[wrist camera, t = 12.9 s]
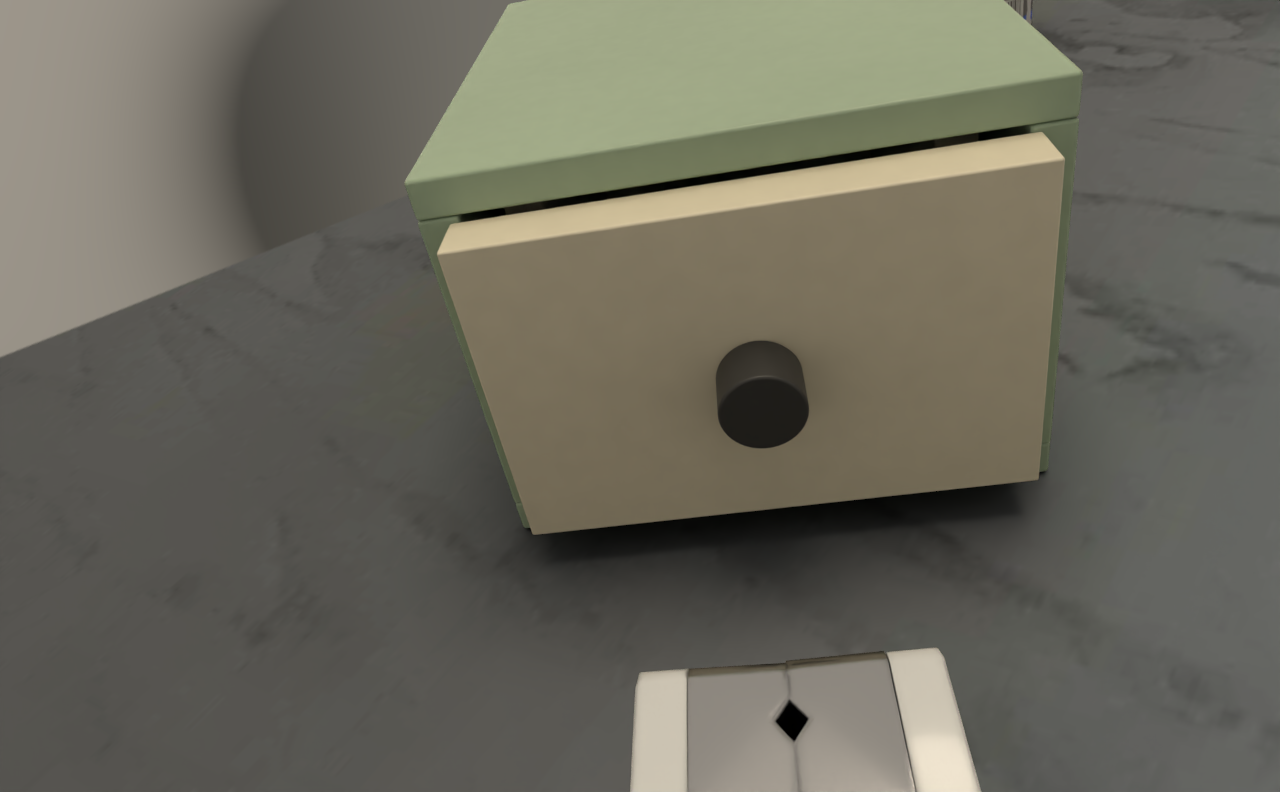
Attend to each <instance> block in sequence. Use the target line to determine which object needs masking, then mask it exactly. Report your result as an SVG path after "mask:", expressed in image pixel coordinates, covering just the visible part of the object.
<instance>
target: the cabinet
mask: <svg viewBox="0 0 1280 792" xmlns="http://www.w3.org/2000/svg"><path fill="white" fill-rule="evenodd" d="M1082 77H1083V73H1082V71H1081V70H1080V69H1079V68H1078V67H1077V66H1076V65H1075V64H1074V63H1073V62H1071V61H1070V60H1069V59H1068V58H1067V57H1066V56H1065V55H1064V54H1063V53H1062V52H1060V51H1059V50H1058V49H1057V48H1056V47H1055V46H1054V45H1053V44H1052V43H1050V42H1049V41H1048V40H1047V39H1046V38H1045V37H1044V36H1043V35H1042V34H1041V33H1039V32H1038V31H1037V30H1036V29H1035V28H1034V27H1033V26H1032V25H1031V24H1029V23H1028V22H1027V21H1026V20H1025V19H1024V18H1023V17H1022V16H1021V15H1019V14H1018V13H1017V12H1016V11H1015V10H1014V9H1013V8H1012V7H1011V6H1010V5H1008V4H1007V3H1006V2H1005V1H1004V0H528V1H522V2H517V3H512V4H509V5H508V6H507V8H506V10H505V11H504V13H503V15H502V17H501V18H500V20H499V22H498V23H497V25H496V27H495V29H494V30H493V32H492V34H491V35H490V37H489V39H488V40H487V42H486V44H485V46H484V47H483V49H482V51H481V52H480V54H479V56H478V58H477V59H476V61H475V63H474V64H473V66H472V68H471V69H470V71H469V73H468V74H467V76H466V78H465V80H464V81H463V83H462V85H461V87H460V89H459V90H458V92H457V94H456V95H455V97H454V99H453V100H452V102H451V104H450V105H449V107H448V109H447V110H446V112H445V114H444V116H443V117H442V119H441V121H440V122H439V124H438V126H437V128H436V130H435V131H434V133H433V134H432V136H431V138H430V139H429V141H428V143H427V145H426V146H425V148H424V150H423V151H422V153H421V155H420V157H419V158H418V160H417V162H416V163H415V165H414V167H413V168H412V170H411V172H410V174H409V175H408V177H407V179H406V180H405V187H406V190H407V193H408V196H409V199H410V202H411V205H412V207H413V210H414V213H415V216H416V218H417V220H419V222H418V226H419V229H420V232H421V234H422V237H423V240H424V243H425V246H426V249H427V252H428V254H429V257H430V260H431V263H432V266H433V269H434V272H435V275H436V277H437V280H438V283H439V286H440V289H441V292H442V295H443V298H444V300H445V303H446V306H447V309H448V312H449V315H450V318H451V321H452V323H453V326H454V329H455V332H456V335H457V338H458V341H459V344H460V346H461V349H462V352H463V355H464V358H465V361H466V364H467V367H468V369H469V372H470V375H471V378H472V381H473V384H474V387H475V389H476V392H477V395H478V398H479V401H480V404H481V407H482V410H483V412H484V415H485V418H486V421H487V424H488V427H489V430H490V433H491V435H492V438H493V441H494V444H495V447H496V450H497V453H498V456H499V458H500V461H501V464H502V467H503V470H504V473H505V476H506V479H507V481H508V484H509V487H510V490H511V493H512V496H513V499H514V501H515V503H516V507H517V510H518V512H519V515H520V518H521V521H522V524H523V527H524V528H530V525H529V522H528V519H527V517H526V514H525V511H524V508H523V505H522V502H521V499H520V496H519V493H518V490H517V487H516V484H515V482H514V479H513V476H512V473H511V470H510V467H509V464H508V461H507V458H506V455H505V452H504V449H503V446H502V444H501V441H500V438H499V435H498V432H497V429H496V426H495V423H494V420H493V417H492V414H491V411H490V409H489V406H488V403H487V400H486V397H485V394H484V391H483V388H482V385H481V382H480V379H479V376H478V374H477V371H476V368H475V365H474V362H473V359H472V356H471V353H470V350H469V347H468V344H467V341H466V338H465V336H464V333H463V330H462V327H461V324H460V321H459V318H458V315H457V312H456V309H455V306H454V303H453V301H452V298H451V295H450V292H449V289H448V286H447V283H446V280H445V277H444V274H443V271H442V268H441V265H440V263H439V260H438V257H437V252H438V250H439V248H440V245H441V243H442V241H443V239H444V237H445V234H446V232H447V230H448V228H449V225H451V224H454V223H460V222H467V221H473V220H480V219H486V218H492V217H499V216H505V215H506V213H505V209H504V207H509V206H516V205H522V204H528V203H535V202H541V201H547V200H554V199H560V198H566V197H573V196H579V195H585V194H592V193H598V192H604V191H611V190H617V189H623V188H630V187H636V186H642V185H649V184H655V183H661V182H668V181H674V180H680V179H687V178H693V177H700V176H706V175H712V174H719V173H725V172H731V171H738V170H744V169H750V168H757V167H763V166H769V165H776V164H782V163H788V162H795V161H801V160H807V159H814V158H820V157H826V156H833V155H839V154H845V153H852V152H858V151H864V150H871V149H877V148H883V147H890V146H896V145H903V144H909V143H915V142H922V141H928V140H934V139H941V138H947V137H953V136H960V135H966V134H972V133H978V141H985V140H991V139H998V138H1004V137H1010V136H1017V135H1023V134H1029V133H1036V132H1043V133H1044V134H1045V136H1046V137H1047V138H1048V139H1049V140H1050V141H1051V143H1052V144H1053V145H1054V146H1055V147H1056V149H1057V150H1058V151H1059V152H1060V153H1061V154H1062V156H1063V157H1064V158H1065V165H1064V177H1063V189H1062V201H1061V214H1060V226H1059V238H1058V250H1057V262H1056V274H1055V287H1054V299H1053V311H1052V323H1051V335H1050V347H1049V359H1048V372H1047V384H1046V396H1045V408H1044V420H1043V432H1042V445H1041V457H1040V469H1039V472H1042V471H1046V470H1047V469H1048V461H1049V450H1050V443H1049V442H1050V440H1051V429H1052V418H1053V407H1054V396H1055V384H1056V373H1057V362H1058V351H1059V339H1060V328H1061V317H1062V306H1063V295H1064V283H1065V272H1066V261H1067V250H1068V238H1069V227H1070V216H1071V205H1072V194H1073V182H1074V171H1075V160H1076V149H1077V137H1078V126H1079V120H1078V118H1077V116H1078V115H1079V111H1080V100H1081V89H1082Z"/></svg>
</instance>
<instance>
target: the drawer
mask: <svg viewBox="0 0 1280 792" xmlns="http://www.w3.org/2000/svg"><path fill="white" fill-rule="evenodd" d="M1064 165H1065V158H1064V157H1063V156H1062V154H1061V153H1060V152H1059V151H1058V150H1057V149H1056V147H1055V146H1054V145H1053V144H1052V143H1051V141H1050V140H1049V139H1048V138H1047V137H1046V136H1045V134H1044V133H1043V132H1036V133H1029V134H1023V135H1017V136H1010V137H1004V138H998V139H991V140H985V141H978V133H972V134H966V135H960V136H953V137H947V138H941V139H934V140H928V141H922V142H915V143H909V144H903V145H896V146H890V147H883V148H877V149H871V150H864V151H858V152H852V153H845V154H839V155H833V156H826V157H820V158H814V159H807V160H801V161H795V162H788V163H782V164H776V165H769V166H763V167H757V168H750V169H744V170H738V171H731V172H725V173H719V174H712V175H706V176H700V177H693V178H687V179H680V180H674V181H668V182H661V183H655V184H649V185H642V186H636V187H630V188H623V189H617V190H611V191H604V192H598V193H592V194H585V195H579V196H573V197H566V198H560V199H554V200H547V201H541V202H535V203H528V204H522V205H516V206H509V207H504V209H505V213H506V215H505V216H499V217H492V218H486V219H480V220H473V221H467V222H460V223H454V224H451V225H449V228H448V230H447V232H446V234H445V237H444V239H443V241H442V243H441V245H440V248H439V250H438V252H437V257H438V260H439V263H440V265H441V268H442V271H443V274H444V277H445V280H446V283H447V286H448V289H449V292H450V295H451V298H452V301H453V303H454V306H455V309H456V312H457V315H458V318H459V321H460V324H461V327H462V330H463V333H464V336H465V338H466V341H467V344H468V347H469V350H470V353H471V356H472V359H473V362H474V365H475V368H476V371H477V374H478V376H479V379H480V382H481V385H482V388H483V391H484V394H485V397H486V400H487V403H488V406H489V409H490V411H491V414H492V417H493V420H494V423H495V426H496V429H497V432H498V435H499V438H500V441H501V444H502V446H503V449H504V452H505V455H506V458H507V461H508V464H509V467H510V470H511V473H512V476H513V479H514V482H515V484H516V487H517V490H518V493H519V496H520V499H521V502H522V505H523V508H524V511H525V514H526V517H527V519H528V522H529V525H530V528H531V531H532V534H533V535H538V534H548V533H557V532H566V531H575V530H584V529H593V528H603V527H612V526H621V525H630V524H639V523H649V522H658V521H667V520H676V519H685V518H695V517H704V516H713V515H722V514H731V513H740V512H750V511H759V510H768V509H777V508H786V507H796V506H805V505H814V504H823V503H832V502H841V501H851V500H860V499H869V498H878V497H887V496H897V495H906V494H915V493H924V492H933V491H943V490H952V489H961V488H970V487H979V486H988V485H998V484H1007V483H1016V482H1025V481H1034V480H1038V479H1039V469H1040V457H1041V445H1042V432H1043V420H1044V408H1045V396H1046V384H1047V372H1048V359H1049V347H1050V335H1051V323H1052V311H1053V299H1054V287H1055V274H1056V262H1057V250H1058V238H1059V226H1060V214H1061V201H1062V189H1063V177H1064Z"/></svg>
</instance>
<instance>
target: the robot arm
mask: <svg viewBox="0 0 1280 792" xmlns="http://www.w3.org/2000/svg"><path fill="white" fill-rule="evenodd" d="M630 792H981V789H980V786H979V782H978V778H977V775H976V771H975V767H974V764H973V760H972V757H971V753H970V749H969V746H968V742H967V739H966V735H965V731H964V728H963V724H962V720H961V717H960V713H959V710H958V706H957V702H956V699H955V695H954V692H953V688H952V684H951V681H950V677H949V674H948V670H947V666H946V663H945V659H944V656H943V655H942V654H941V652H940V651H939V650H938V648H926V649H915V650H905V651H895V652H887V653H886V654H885V653H884V651H879V652H869V653H859V654H849V655H839V656H829V657H820V658H810V659H800V660H790V661H786V663H777V664H761V665H744V666H728V667H711V668H695V669H679V670H666V671H654V672H641V673H640V674H639V677H638V681H637V685H636V688H635V707H634V727H633V746H632V766H631V786H630Z"/></svg>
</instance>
